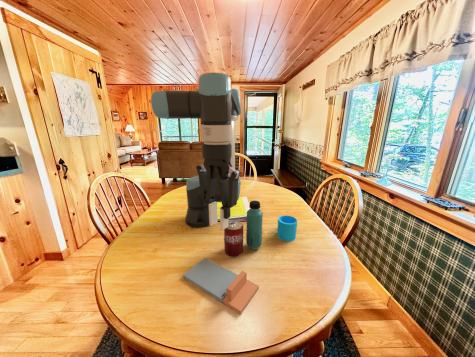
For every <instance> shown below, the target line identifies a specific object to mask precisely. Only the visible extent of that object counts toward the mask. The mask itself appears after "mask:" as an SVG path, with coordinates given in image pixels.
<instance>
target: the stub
mask: <svg viewBox="0 0 475 357" xmlns="http://www.w3.org/2000/svg"><path fill="white" fill-rule="evenodd" d="M247 273H248V272H247V271H244V270H241V271H240V272H239V273H238V274H237V275H238V276H237V277H236V278H235V279H234V280H233V282H232V283H231V284H230V285H229V286H228V287H227V296H226V297H225V298H224V299H223V302H222V304H223V305H225V306H227V307H228V308H229V309H231V310H232V311H234V312H236V313H237V314H239V315H240V316H241V315H243V313H244V311H245V309H246V308H247V306H248V305H249V304H250V302H251V301H252V300H253V298H254V297H255V295H257V294H256V293H257V292H258V291H259V289H260V285H258V284H257V283H254V282H253V281H251V280H248V278H247Z"/></svg>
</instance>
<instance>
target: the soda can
mask: <svg viewBox="0 0 475 357" xmlns="http://www.w3.org/2000/svg"><path fill="white" fill-rule="evenodd" d="M228 221H229V226H228V227H227V228H225V229H224V230H223V233H224V234H223V240H224V242H223V243H224V244H223V245H224V253H225V255H226V256H227V257H230V258H238V257H240V256H242V254H243V253H244V224H243V223H242V222H241V221H239V220H228Z"/></svg>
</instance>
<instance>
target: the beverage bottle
mask: <svg viewBox="0 0 475 357" xmlns="http://www.w3.org/2000/svg"><path fill="white" fill-rule="evenodd" d="M263 216H264V213H263V211H262V210H261V202H260V201H259V200H251V201H250V202H249V209H248V210H247V211H246V233H245V241H246V246H247V247H248V248H250V249H254V250H255V249H259V248H261V246H262V242H263Z"/></svg>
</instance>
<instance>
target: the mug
mask: <svg viewBox="0 0 475 357" xmlns="http://www.w3.org/2000/svg"><path fill="white" fill-rule="evenodd" d="M297 228H298V219H297V218H296V217H294V216H292V215H286V214H285V215H280V216H278V218H277V229H276V230H277V231H276V232H277V234H276V236H277V238H278V239H279V240H282V241H284V242H292V241H295V240H296V238H297Z"/></svg>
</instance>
